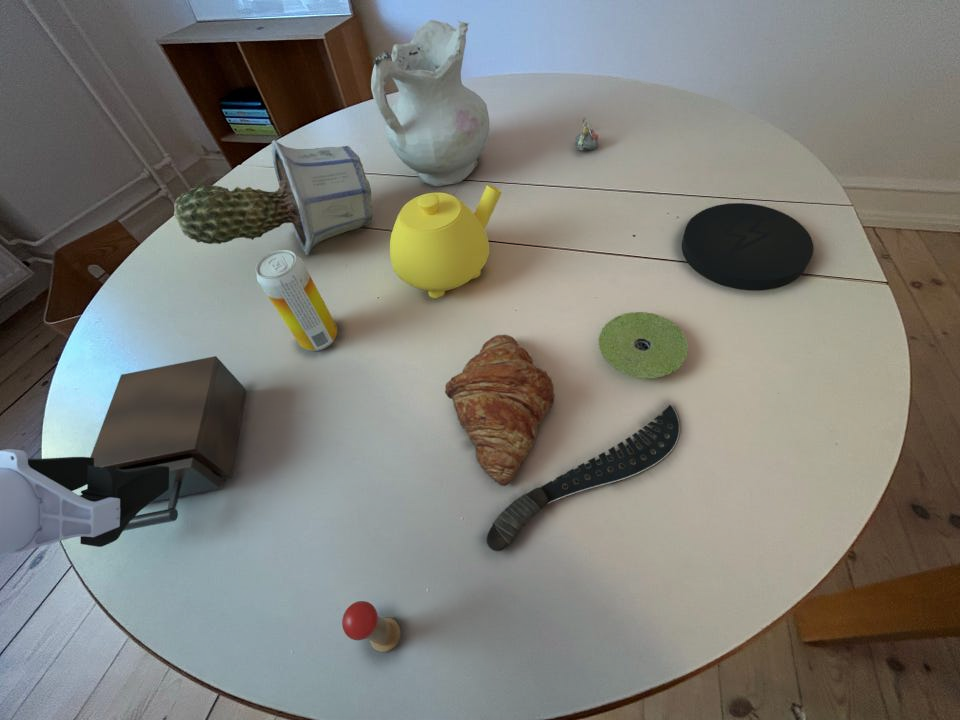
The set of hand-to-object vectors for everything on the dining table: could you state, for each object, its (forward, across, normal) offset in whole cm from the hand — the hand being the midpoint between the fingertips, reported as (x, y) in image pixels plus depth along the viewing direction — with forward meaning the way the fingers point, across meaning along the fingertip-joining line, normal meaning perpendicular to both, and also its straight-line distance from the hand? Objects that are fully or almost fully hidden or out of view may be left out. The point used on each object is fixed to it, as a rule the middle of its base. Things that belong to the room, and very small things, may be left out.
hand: (127, 473), depth 42 cm
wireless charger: (+47, -62, -29) cm, 83 cm away
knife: (+22, -40, +2) cm, 46 cm away
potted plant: (+47, +13, -28) cm, 56 cm away
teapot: (+44, -17, -25) cm, 53 cm away
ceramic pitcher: (+61, -9, -46) cm, 77 cm away
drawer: (+18, +11, +5) cm, 22 cm away
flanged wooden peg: (+10, -20, +17) cm, 28 cm away
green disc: (+34, -46, -12) cm, 58 cm away
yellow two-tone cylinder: (+33, +1, -12) cm, 35 cm away
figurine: (+66, -37, -52) cm, 92 cm away
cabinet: (+21, +12, +3) cm, 25 cm away
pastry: (+27, -29, -4) cm, 40 cm away
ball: (+4, -20, +13) cm, 24 cm away
